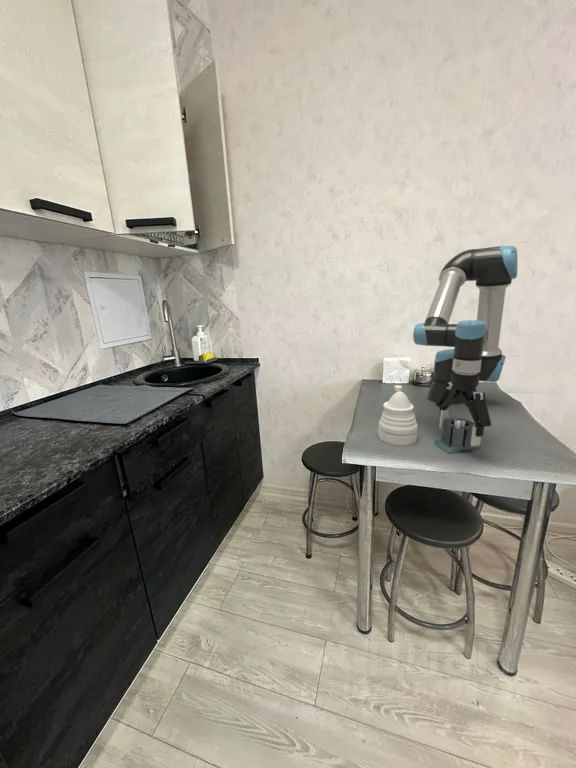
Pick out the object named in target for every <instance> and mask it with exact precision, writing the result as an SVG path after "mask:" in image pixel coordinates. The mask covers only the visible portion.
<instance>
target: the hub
mask: <svg viewBox="0 0 576 768" xmlns="http://www.w3.org/2000/svg"><path fill="white" fill-rule="evenodd" d="M455 419H461V418H460V417H455V418H454V417H449V418H448V419H445V420H444V423H443V429H442V434H441V438H442V441H444V442H446V443H447V444H449V445H450V444H451V445H453V446H458V447H462V446H463V447H469V446H471V438H472V430H473V425H476V424H475V422H474V421H471V420H469V419H466V418H462V419H463V420H465V426H464V427H461V426H455V425H454V422H455Z"/></svg>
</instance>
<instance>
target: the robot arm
mask: <svg viewBox="0 0 576 768" xmlns="http://www.w3.org/2000/svg"><path fill="white" fill-rule="evenodd" d="M518 267H519V265H518V249H517V247H516V246H514V245H499V246H498V245H497V246H491V247H490V246H489V247H483V248H482V247H481V248H471V249H466V250H464V251H462V252H459V253H457V255H455V256H453V257H452V258H451V259H450V260H449V261H448V262H447V263H445V265H444V266H443V268H442V269H441V270H440V273H439V277H438V282H439V284H438V286H437V289H436V292H435V294H434V295H433V296H434V297H433V299H432V301H431V302H432V303H431V304H430V307H429V310H428V313H427V315H426V317H425V320H424V322H421V323H417V324H416V325H415V326H414V329H413V332H412V336H413V337H412V339H413V342H414V344H415V345H419V346H426V347H428V346H429V347H430V346H431V347H448V349H443V350H438V351H437V352H436V353H435V357H434V367H433V378H432V383H431V386H430V389H429V391H428V393H427V399H429V400H430V401H431V402H435V406H436V407H438V409H439V425H438V427H439V428H438V429H441V430H443V423H444V420H445V419H449V418H450V409H449V408H450V407H451V406H452V405H455V404H461V403H463V404H464V405H465V407H467V409H468V411H469V413H470V416H471V418H472V420H473V423H475V424H476V425H473V430H472V438H471V446H477V445H480V442H482V437H484V430H485V428H486V427H492V422H491V417H490V414H489V410H488V406H487V403H486V402H487V401H486V392H477V387H478V386H479V383H480V382H484V383H488V382H489V383H495V382H498V381H499V380H500V377H501V374H502V370H503V367H504V364H505V361H506V355H504V354H503V350H502V349H501V348H499V347H500V338H501V329H502V321H503V314H504V304H505V298H506V291H507V290H506V289H507V288H508V287H509V286H510V285H512V280H514V279H517V277H518ZM471 281H472V282H473V281H475V286H476V287H477V289H479V294H478V301H477V302H478V303H477V304H478V305H477V315H476V320H475V319H473V320H472V319H470V320H469V319H468V320H460V321H458V322H457V323H449V322H450V320H451V316H452V314H453V311H454V308H455V304H456V301H457V298H458V295H459V293H460V290H461V287H462V286H463V285H464V284H465V282H471ZM449 348H450V349H449Z"/></svg>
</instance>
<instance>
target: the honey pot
mask: <svg viewBox="0 0 576 768" xmlns="http://www.w3.org/2000/svg"><path fill="white" fill-rule="evenodd" d="M402 389H403V386H402V385H394V391H395V393H394V394H392V396H391V397H390V399H389V400H388V401H386V402H384V403H383V405H382V406H383V408H384V410H383V411H382V414H381V417H380V419H379V421H378V428H377V429H378V431H377V437H378V438H379V439H380V441H383V443H387V444H391V445H393V446H394V445H396V446H408V445H409V446H410V445H413V444H415V443H416V442H417V441H418V440H417V439H418V429H419V428H418V427H419V426H418V423H417V420H416V414H415V412H414V408H415V407H414V405H413V404H412V403H411V402H410V400H409V398H408V396H407V395H406V393H404V392H403V391H402Z"/></svg>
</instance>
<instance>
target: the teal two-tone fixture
mask: <svg viewBox="0 0 576 768" xmlns="http://www.w3.org/2000/svg"><path fill="white" fill-rule="evenodd" d="M463 419H464V418H460V419H455V422H454V425H455V426H461V427H464V426H465V420H463ZM434 445H435V446H436V447H438V448H439V449H441V450H442V451H444V452H446V453H447V454H452V453H458V452H463V451H470V450H474V449H480V448H481V446H482V441H480V445H477V446H469V447H463V446H462V447H458V446H453V445H451V444H450V445H449V444H447V443H446V442H444V441H442V437H439V438H434Z"/></svg>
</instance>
